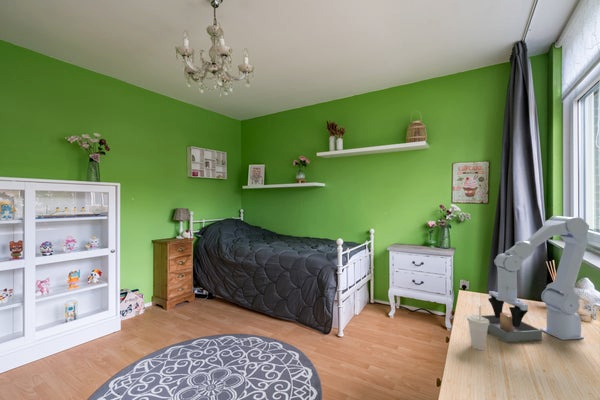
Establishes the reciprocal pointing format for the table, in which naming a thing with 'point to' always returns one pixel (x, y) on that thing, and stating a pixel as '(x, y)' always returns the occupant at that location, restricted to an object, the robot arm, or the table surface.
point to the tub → (520, 334)
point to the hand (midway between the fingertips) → (507, 321)
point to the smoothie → (478, 330)
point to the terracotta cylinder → (506, 322)
